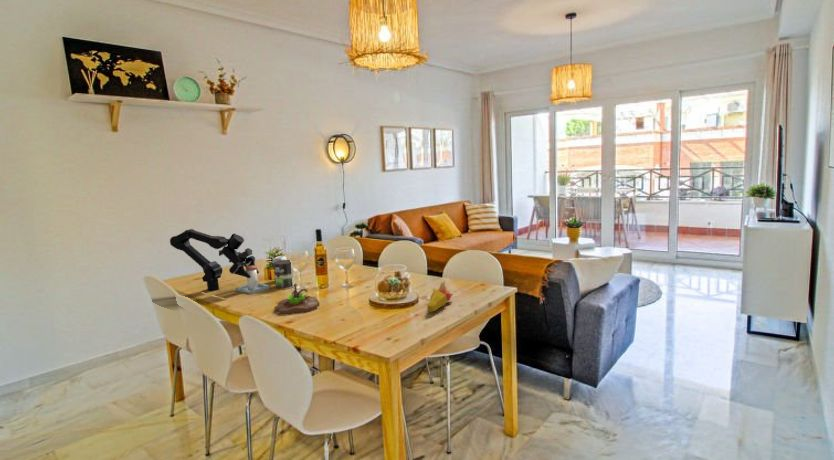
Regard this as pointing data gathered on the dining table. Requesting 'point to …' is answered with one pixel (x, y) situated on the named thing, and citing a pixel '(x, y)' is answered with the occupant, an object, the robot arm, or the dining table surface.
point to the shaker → (252, 277)
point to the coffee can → (283, 274)
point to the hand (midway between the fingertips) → (254, 275)
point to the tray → (260, 288)
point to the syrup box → (279, 258)
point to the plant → (297, 303)
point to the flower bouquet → (439, 297)
